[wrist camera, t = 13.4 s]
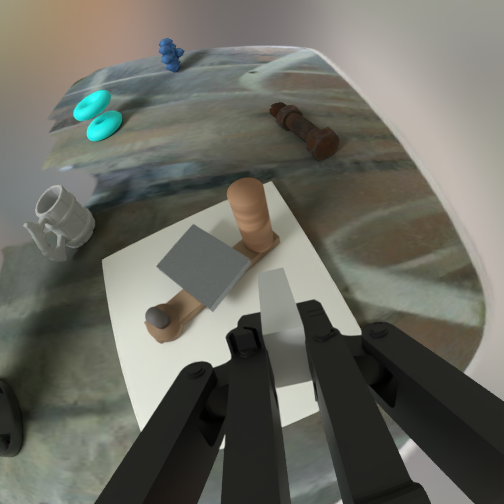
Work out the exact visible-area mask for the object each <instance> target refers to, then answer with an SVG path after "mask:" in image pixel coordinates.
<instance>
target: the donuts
mask: <svg viewBox="0 0 504 504" xmlns="http://www.w3.org/2000/svg"><path fill="white" fill-rule="evenodd" d="M110 99H111V95H110V93H109V92H108V91H106V90H99V91H96V92H94V93H92V94H90V95H89V96H87V97H86V98H84V99H83V100H82V101H81V102H80V103H79V104H78V105H77V106H76V108H75V110H74V117H75V119H77V120H79V121H85V120H89V119H91V118H93V117H95V116H97V115H98V114H99V113H101V112H102V111H103V110H104V109H105V108H106V107H107V105H108V104H109V102H110ZM121 123H122V115H121V113H119V112H118V111H108V112H105V113H103V114H101V115H99V116H98V117H97V118H95V119H94V120H93V121H92V122H91V124H90V125H89V127H88V129H87V137H88V138H89V139H90V140H91V141H100V140H103V139H105V138H107V137H109V136H110V135H112V134H113V133H114V132H115V131H116V130H117V129H118V128H119V127H120V125H121Z"/></svg>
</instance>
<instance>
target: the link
mask: <svg viewBox="0 0 504 504" xmlns="http://www.w3.org/2000/svg"><path fill="white" fill-rule="evenodd" d="M227 198H228V201H229V203H230V206H231V209H232V212H233V214H234V217H235V220H236V222H237V225H238V228H239V231H240V233H241V236H242V240H241V241H239V242H238V243H237V244H236V245H235V246H233V247H232V248H233V249H235V250H236V251H238V252H240V253H241V254H243V255H244V256H246V257H248V258H249V259H250V260H251V263H252V264H251V265H250V266H249V268H248V269H247V270H246V272H247V271H248V270H249V269H251V268H252V267H253V266H254V265H255V264H256V263H258V262H259V261H260V260H261V259H262V258H263V257H264V256H266V255H267V254H268V253H269V252H270V251H271V250H273V249H274V248H275V247H276V246H277V245H278V244H279V243H280V237H279V236H278V235H277V234H276V233H275V232H274V231H272V226H271V221H270V216H269V211H268V206H267V201H266V196H265V191H264V186H263V184H262V183H261V182H260V181H259V180H257V179H255V178H242V179H239V180H237V181H235V182H233V183H232V184H231V185H230V187H229V188H228V190H227ZM246 272H245V273H246ZM245 273H244V274H245ZM244 274H243V275H244ZM205 307H206V306H204V305H203V304H202V303H200V302H199V301H198V300H196V299H195V298H194V297H193V296H191V295H190V294H189V293H187V292H186V291H185V290H184V289H182V290H181V291H180V292H179V293H178V294H176V295H175V296H174V297H173V298H172V299H170V300H169V301H168V302H167V303H163V304H159V305H156V306H155V307H150V308H149V309H148V310H147V311H146V314H145V319H146V321H145V322H144V323H145V325H146V328H147V330H148V332H149V334H150V335H151V336H152V337H154V339H155V340H156V341H157V342H159V343H161V344H163V343H164V342H171V341H174V340H176V339H177V338H178V337H179V336H180V335H181V333H182V331H183V329H184V325H185V324H186V323H187V322H189V321H190V320H191V319H192V318H193V317H195V316H196V315H197V314H198V313H199V312H200V311H202V310H203V309H204V308H205Z"/></svg>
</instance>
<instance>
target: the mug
mask: <svg viewBox="0 0 504 504" xmlns="http://www.w3.org/2000/svg"><path fill="white" fill-rule="evenodd" d="M35 212H36V214H37V216H38V217H39V218H40V220H39V222H38V224H35V223H33V222H26V223H25V224H24V225H23V226H24V227H25V228H26V229H27V230H28V231H29V232H30V233H31V236H32V237H33V239H34V240H35V242H36V243H37V245H38V247H39V249H40V250H41V252H42V254H43V255H44V256H45V257H48V258H50V259H51V260H53V261H56V262H61V261H66V260H67V256H66V251H65V245H66V246H69V247H71V248H78V247H80V246H82V245H83V244H84V243H86V242H87V241H88V240H89V238H90V237H91V236H92V234H93V231H92V230H93V229H94V228H95V219H94V218H93V216H92V213H91V212H90V211H89V210H88V209H87V208H84V207H82V206H81V205H80V204H79V203H78V202H77V201H76V198H75V197H74V196H73V194H71V193H68V192H67V191H66V190H65V189H64V187H63V186H62V185H54V186H51V188H48V189H47V190H46V191H45V192H44V194H43V195H42V196H41V197H40V199H39V201H38V203H37V205H36V210H35ZM44 226H46V227H47V228H48V229H50V230H52V231H53V232H54V233H55V234H56V235H57V236H58V240H57V247H55V248H53V247H51V246H50V245H49V244H48V243H47V241H46V238H45V235H44V233H43V229H44Z"/></svg>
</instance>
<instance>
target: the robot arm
mask: <svg viewBox="0 0 504 504" xmlns="http://www.w3.org/2000/svg"><path fill="white" fill-rule="evenodd" d="M257 276H258V288H259V300H260V312H257V313H252V314H247V315H242V316H241V318H240V319H239V320H238V323H237V327H236V328H234V329H232V330H231V331H230V332H228V333H227V335H226V337H225V338H226V341H227V344H228V347H229V350H230V353H231V359H230V360H229V361H228V362H226V363H224V364H222V365H219V366H216V367H214V368H213V367H212V365H211V364H210V363H208V362H205V361H199V362H193V363H191V364H189V365H187V366H185V367H184V368H183V369H182V370H181V371H180V373H179V374H178V376H177V377H176V379H175V380H174V382H173V384H172V385H171V387H170V388H169V390H168V391H167V393H166V394H165V396H164V397H163V399H162V401H161V402H160V404H159V405H158V407H157V408H156V410H155V411H154V413H153V414H152V416H151V418H150V419H149V421H148V422H147V424H146V425H145V427H144V428H143V430H142V431H141V433H140V435H139V436H138V438H137V439H136V441H135V442H134V444H133V445H132V447H131V448H130V450H129V451H128V453H127V454H126V456H125V458H124V459H123V461H122V462H121V464H120V465H119V467H118V468H117V470H116V471H115V473H114V474H113V476H112V477H111V479H110V481H109V482H108V484H107V485H106V487H105V488H104V490H103V491H102V493H101V494H100V496H99V497H98V499H97V500H96V502H95V503H94V504H197V503H198V500H199V498H200V496H201V493H202V491H203V489H204V486H205V484H206V481H207V479H208V476H209V474H210V471H211V469H212V467H213V464H214V462H215V459H216V457H217V454H218V451H219V449H220V446H221V444H222V441H223V439H224V436H225V446H224V462H223V477H222V494H221V504H291V499H290V491H289V483H288V474H287V466H286V458H285V450H284V442H283V434H282V426H281V418H280V410H279V402H278V396H277V392H276V388H280V387H285V386H290V385H295V384H300V383H304V382H309V381H313V388H314V395H315V402H316V401H317V403H318V407H319V411H320V415H321V418H322V422H323V426H324V430H325V434H326V437H327V441H328V445H329V449H330V453H331V457H332V461H333V465H334V469H335V473H336V477H337V481H338V485H339V489H340V493H341V497H342V502H343V504H431V502H430V500H429V498H428V496H427V494H426V492H425V490H424V488H423V487H422V486H421V485H420V484H419V483H416V482H413V481H412V480H411V478H410V476H409V474H408V472H407V470H406V467H405V465H404V463H403V460H402V458H401V456H400V454H399V451H398V449H397V447H396V445H395V443H394V440H393V438H392V436H391V434H390V432H389V430H388V428H387V425H386V423H385V421H384V419H383V417H382V415H381V413H380V411H379V408H378V406H377V404H376V402H377V403H378V404H379V405H380V406H381V407H382V408H383V409H384V411H385V412H386V413H387V414H388V415H389V416H390V417H391V418H392V419H393V420H394V421H395V422H396V423H397V424H398V425H399V426H400V427H401V428H402V429H403V430H404V432H405V433H406V434H407V435H408V436H409V437H410V438H411V439H412V440H413V441H414V442H415V443H416V444H417V445H418V446H419V447H420V448H421V449H422V450H423V451H424V452H425V453H426V454H427V455H428V457H430V458H431V460H432V461H433V462H434V463H435V464H436V465H437V466H438V467H439V468H440V469H441V470H442V471H443V472H444V473H445V474H446V475H447V476H448V477H449V478H450V479H451V480H452V481H453V482H454V483H455V484H456V485H457V486H458V487H459V488H460V489H461V490H462V491H463V492H464V493H465V494H466V495H467V497H468V498H469V499H471V500H472V502H473V503H475V504H504V401H502V400H501V399H500V398H498V397H497V396H495V395H494V394H492V393H491V392H490V391H488V390H487V389H485V388H484V387H482V386H481V385H480V384H478V383H477V382H475V381H474V380H473V379H471V378H470V377H468V376H467V375H465V374H464V373H462V372H461V371H460V370H458V369H457V368H455V367H454V366H452V365H451V364H449V363H448V362H447V361H445V360H444V359H442V358H441V357H439V356H438V355H436V354H435V353H433V352H432V351H431V350H429V349H428V348H426V347H425V346H423V345H422V344H420V343H419V342H417V341H416V340H414V339H413V338H411V337H410V336H408V335H407V334H405V333H404V332H403V331H401V330H400V329H398V328H397V327H395V326H394V325H392V324H390V323H387V322H374V323H371V324H368V325H367V326H365V327H364V328H363V330H362V331H361V335H353V336H348V335H342V334H341V333H340V331H339V330H338V329H337V328H334V327H333V326H332V324H331V322H330V320H329V318H328V316H327V314H326V312H325V310H324V308H323V306H322V304H321V303H320V302H318V301H317V300H315V299H312V300H308V301H304V302H299V303H295V300H294V297H293V294H292V291H291V288H290V285H289V282H288V279H287V277H286V274H285V271H284V268H278V269H274V270H269V271H265V272H260V273H257ZM275 386H276V387H275ZM375 401H376V402H375ZM22 435H23V429H22V419H21V413H20V409H19V406H18V403H17V400H16V397H15V395H14V393H13V391H12V390H11V388H10V387H9V386H8V385H7V384H6V383H5V382H3V381H1V380H0V456H1V457H13V456H15V455H16V454H17V453H18V452H19V450H20V447H21V443H22Z"/></svg>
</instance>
